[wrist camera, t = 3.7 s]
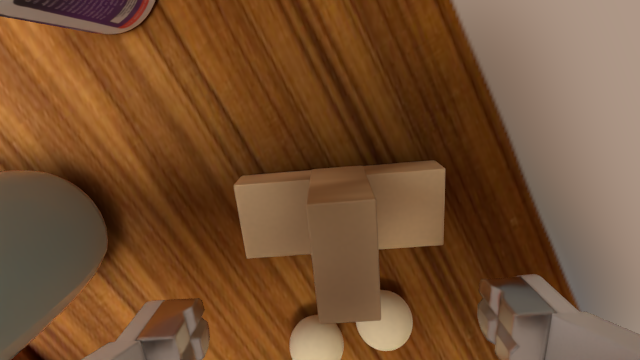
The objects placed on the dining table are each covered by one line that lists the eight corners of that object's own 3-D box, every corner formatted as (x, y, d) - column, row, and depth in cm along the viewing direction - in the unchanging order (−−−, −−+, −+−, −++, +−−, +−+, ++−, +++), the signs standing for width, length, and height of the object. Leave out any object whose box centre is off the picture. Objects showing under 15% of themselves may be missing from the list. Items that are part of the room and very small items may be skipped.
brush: (430, 147, 17) (492, 190, 11) (429, 232, 19) (483, 315, 12) (243, 162, 18) (195, 212, 11) (257, 244, 19) (222, 330, 13)
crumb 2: (405, 277, 20) (419, 314, 17) (405, 320, 21) (419, 363, 18) (351, 280, 20) (356, 317, 17) (355, 323, 21) (359, 366, 18)
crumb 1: (340, 302, 20) (343, 341, 17) (344, 343, 21) (347, 387, 18) (289, 305, 20) (283, 345, 17) (295, 345, 21) (290, 390, 18)
